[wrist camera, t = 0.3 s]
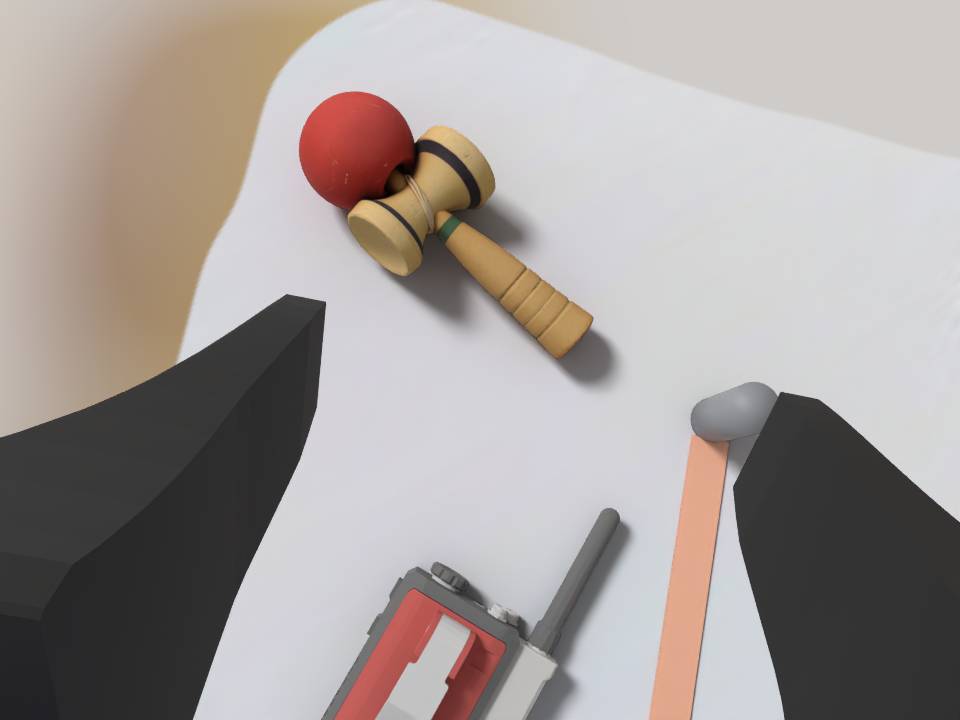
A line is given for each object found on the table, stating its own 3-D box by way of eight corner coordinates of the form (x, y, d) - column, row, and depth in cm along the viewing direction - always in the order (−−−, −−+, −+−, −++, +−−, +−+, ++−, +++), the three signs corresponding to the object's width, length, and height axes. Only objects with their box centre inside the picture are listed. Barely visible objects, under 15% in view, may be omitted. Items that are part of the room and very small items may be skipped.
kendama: (613, 283, 45) (370, 73, 44) (639, 277, 38) (354, 31, 37) (525, 386, 45) (281, 180, 44) (536, 398, 38) (251, 156, 37)
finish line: (649, 1032, 37) (687, 1135, 31) (599, 1022, 37) (627, 1123, 31) (737, 402, 42) (784, 387, 36) (694, 394, 42) (733, 377, 36)
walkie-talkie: (431, 882, 38) (627, 519, 41) (428, 931, 34) (647, 522, 37) (278, 784, 38) (483, 434, 42) (255, 821, 34) (487, 427, 37)
